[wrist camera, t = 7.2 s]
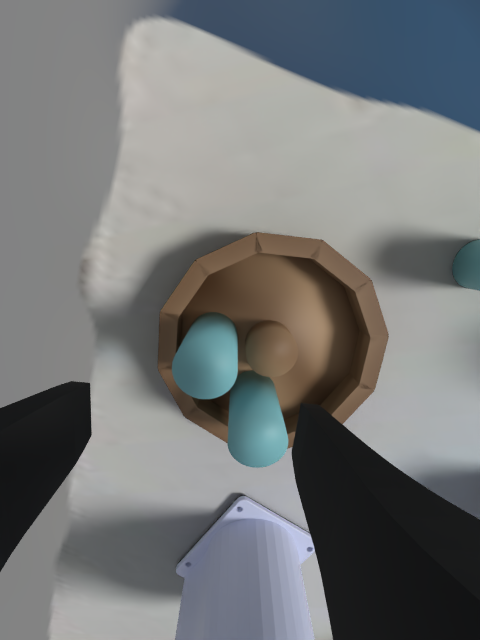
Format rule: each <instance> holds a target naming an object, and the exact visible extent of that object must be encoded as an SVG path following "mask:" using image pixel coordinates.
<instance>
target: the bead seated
mask: <svg viewBox="0 0 480 640" xmlns="http://www.w3.org/2000/svg"><path fill="white" fill-rule="evenodd" d="M287 447H288V435H287V431H286V427H285V423H284V420H283V416H282V412H281V408H280V404H279V400H278V397H277V393H276V389H275V385H274V383H273V381H272V379H271V378H270V377H265V376H262V375H260V374H258V373H256V372H255V371H254V370H251V371H246V372H243V373H241V374H239V375H238V376H237V378H236V381H235V383H234V385H233V386H232V387H231V389H230V402H229V423H228V448H229V451H230V453H231V455H232V456H233V457H234V459H236V460H237V461H238V462H239V463H241V464H243V465H246V466H249V467H266V466H269V465H271V464H273V463H275V462H277V461H278V460H279V459H280V458H281V457H282V456H283V455H284V454H285V452H286V450H287Z"/></svg>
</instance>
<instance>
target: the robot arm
mask: <svg viewBox="0 0 480 640" xmlns="http://www.w3.org/2000/svg"><path fill="white" fill-rule="evenodd" d="M90 437H91V401H90V383H84V382H73V381H71V382H68V383H64V384H61V385H59V386H56V387H53V388H50V389H48V390H46V391H43V392H40V393H38V394H35V395H33V396H30V397H28V398H25V399H22V400H20V401H18V402H15V403H12V404H10V405H7V406H5V407H2V408H0V571H1V570H2V568H3V566H4V565H5V563H6V562H7V560H8V558H9V557H10V555H11V553H12V552H13V551H14V549H15V548H16V546H17V545H18V543H19V542H20V540H21V539H22V537H23V536H24V534H25V533H26V532H27V530H28V529H29V528H30V526H31V525H32V523H33V522H34V521H35V519H36V518H37V516H38V515H39V514H40V513H41V511H42V510H43V508H44V507H45V506H46V504H47V503H48V502H49V500H50V499H51V498H52V496H53V495H54V493H55V492H56V491H57V489H58V488H59V486H60V485H61V484H62V482H63V481H64V480H65V478H66V477H67V475H68V474H69V473H70V471H71V470H72V469H73V467H74V466H75V464H76V463H77V461H78V459H79V457H80V456H81V454H82V452H83V450H84V449H85V447H86V445H87V443H88V441H89V439H90ZM292 460H293V467H294V473H295V479H296V484H297V488H298V492H299V495H300V499H301V503H302V506H303V510H304V513H305V517H306V520H307V524H308V528H309V531H310V533H308V532H306V531H305V530H303V529H301V528H299V527H298V526H296V525H294V524H293V523H291V522H289V521H287V520H286V519H284V518H282V517H281V516H279V515H277V514H275V513H274V512H272V511H270V510H269V509H267V508H265V507H263V506H262V505H260V504H258V503H257V502H255V501H253V500H251V499H250V498H248V497H246V496H241V497H239V498H238V499H237V500H236V501H235V502H234V503H233V504H232V505H231V506H230V507H229V508H228V510H227V511H226V512H225V513H224V514H223V515H222V516H221V517H220V518H219V519H218V521H217V522H216V523H215V524H214V525H213V526H212V527H211V528H210V529H209V530H208V532H207V533H206V534H205V535H204V536H203V537H202V538H201V539H200V540H199V541H198V543H197V544H196V545H195V546H194V547H193V548H192V549H191V550H190V551H189V552H188V554H187V555H186V556H185V557H184V558H183V559H182V560H181V561H180V562H179V563H178V564H177V566H176V573H177V574H178V575H180V576H181V577H183V578H185V579H184V585H183V592H182V598H181V604H180V611H179V617H178V624H177V630H176V636H175V640H315V638H314V633H313V628H312V623H311V618H310V613H309V607H308V602H307V597H306V592H305V587H304V582H303V577H302V572H301V567H300V565H301V564H302V563H303V562H304V561H305V560H306V559H307V558H308V557H309V556H310V555H311V554H312V553H313V552H314V551H315V552H316V556H317V560H318V564H319V568H320V572H321V577H322V582H323V587H324V592H325V598H326V603H327V608H328V613H329V619H330V624H331V630H332V635H333V640H480V520H479V519H477V518H476V517H474V516H472V515H471V514H469V513H467V512H465V511H464V510H462V509H460V508H458V507H457V506H455V505H453V504H452V503H450V502H448V501H446V500H445V499H443V498H442V497H440V496H438V495H437V494H435V493H433V492H432V491H430V490H429V489H427V488H426V487H424V486H423V485H421V484H420V483H418V482H417V481H415V480H414V479H412V478H411V477H409V476H408V475H406V474H405V473H403V472H402V471H400V470H399V469H398V468H396V467H395V466H393V465H392V464H391V463H389V462H388V461H387V460H385V459H384V458H383V457H381V456H380V455H379V454H378V453H376V452H375V451H374V450H372V449H371V448H370V447H369V446H367V445H366V444H365V443H364V442H362V441H361V440H360V439H359V438H358V437H356V436H355V435H354V434H353V433H352V432H350V431H349V430H348V429H347V428H346V427H345V426H343V425H342V424H341V423H340V422H339V421H338V420H337V419H335V418H334V417H333V416H332V415H331V414H330V413H328V412H327V411H326V410H325V409H324V408H322V407H321V406H320V405H317V404H307V403H301V405H300V410H299V416H298V421H297V426H296V432H295V437H294V442H293V448H292Z"/></svg>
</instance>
